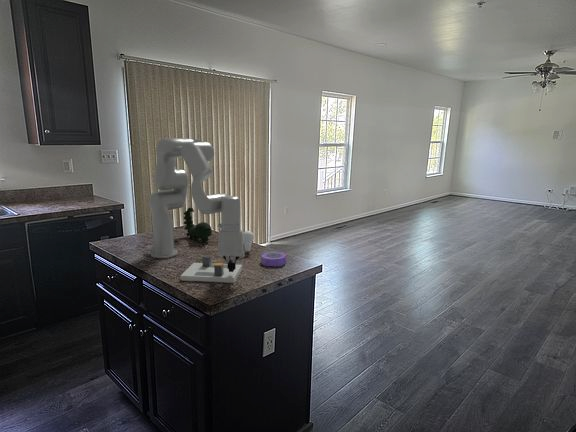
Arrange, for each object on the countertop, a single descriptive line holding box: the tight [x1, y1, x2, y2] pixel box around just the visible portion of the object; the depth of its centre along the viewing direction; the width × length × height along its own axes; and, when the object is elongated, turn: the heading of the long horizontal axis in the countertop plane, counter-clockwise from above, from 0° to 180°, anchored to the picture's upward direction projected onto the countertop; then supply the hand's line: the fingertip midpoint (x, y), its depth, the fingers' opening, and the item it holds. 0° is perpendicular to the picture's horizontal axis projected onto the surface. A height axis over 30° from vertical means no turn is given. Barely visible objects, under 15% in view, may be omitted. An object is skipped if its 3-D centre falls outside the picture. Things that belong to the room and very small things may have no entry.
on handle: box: [201, 254, 212, 266], centre depth 158 cm, size 3×3×4 cm
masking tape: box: [260, 251, 287, 268], centre depth 170 cm, size 12×12×4 cm
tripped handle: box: [214, 262, 224, 275], centre depth 148 cm, size 3×3×4 cm
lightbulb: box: [242, 230, 255, 253], centre depth 185 cm, size 6×6×11 cm
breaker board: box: [180, 262, 243, 284], centre depth 154 cm, size 22×16×2 cm
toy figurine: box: [183, 207, 213, 243], centre depth 204 cm, size 9×19×25 cm
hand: (231, 270), depth 148 cm, fingers closed
